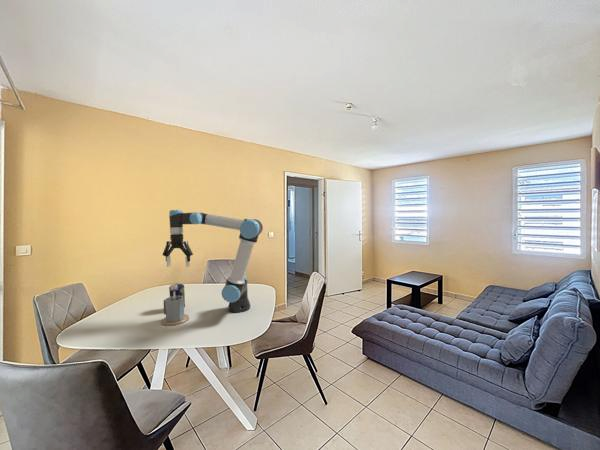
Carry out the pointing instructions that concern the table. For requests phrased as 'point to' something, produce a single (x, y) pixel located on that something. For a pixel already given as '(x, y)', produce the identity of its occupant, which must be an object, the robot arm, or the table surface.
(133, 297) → the table surface
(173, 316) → the press carafe
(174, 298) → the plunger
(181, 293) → the canister
